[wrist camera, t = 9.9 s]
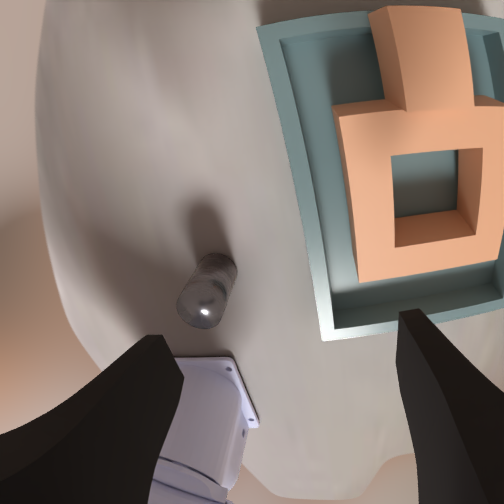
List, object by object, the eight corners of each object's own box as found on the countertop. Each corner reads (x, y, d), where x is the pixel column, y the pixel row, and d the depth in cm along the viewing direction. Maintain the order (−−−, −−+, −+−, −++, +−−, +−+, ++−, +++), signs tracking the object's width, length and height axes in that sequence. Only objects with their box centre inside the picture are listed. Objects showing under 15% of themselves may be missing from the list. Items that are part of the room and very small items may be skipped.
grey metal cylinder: (241, 285, 20) (227, 327, 16) (205, 289, 20) (185, 330, 17) (231, 250, 19) (213, 288, 15) (194, 256, 19) (169, 293, 16)
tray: (495, 286, 17) (509, 306, 15) (321, 316, 20) (322, 341, 18) (485, 25, 10) (506, 19, 8) (262, 36, 13) (255, 27, 11)
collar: (478, 233, 15) (501, 265, 12) (352, 252, 17) (360, 290, 14) (473, 17, 8) (509, 16, 6) (310, 20, 10) (315, 11, 8)
